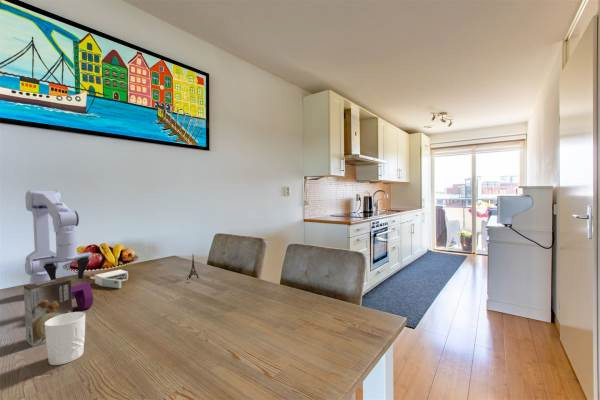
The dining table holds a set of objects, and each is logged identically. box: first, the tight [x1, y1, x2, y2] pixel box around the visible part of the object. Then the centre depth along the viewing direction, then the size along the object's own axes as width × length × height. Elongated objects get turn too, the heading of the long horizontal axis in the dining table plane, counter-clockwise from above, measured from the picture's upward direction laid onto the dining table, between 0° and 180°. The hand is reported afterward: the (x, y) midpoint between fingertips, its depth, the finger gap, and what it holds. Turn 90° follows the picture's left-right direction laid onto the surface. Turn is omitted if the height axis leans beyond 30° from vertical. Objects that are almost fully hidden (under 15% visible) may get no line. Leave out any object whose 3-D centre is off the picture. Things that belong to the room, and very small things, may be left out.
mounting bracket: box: [71, 281, 94, 311], centre depth 99 cm, size 9×8×18 cm
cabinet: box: [94, 269, 129, 287], centre depth 131 cm, size 8×11×4 cm
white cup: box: [44, 311, 86, 366], centre depth 69 cm, size 8×8×10 cm
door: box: [101, 278, 122, 289], centre depth 122 cm, size 1×11×4 cm, turn 72°
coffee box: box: [23, 277, 73, 348], centre depth 79 cm, size 9×6×16 cm
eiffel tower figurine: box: [187, 253, 200, 279], centre depth 136 cm, size 15×10×13 cm
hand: (67, 281), depth 99 cm, fingers open, 7 cm apart
